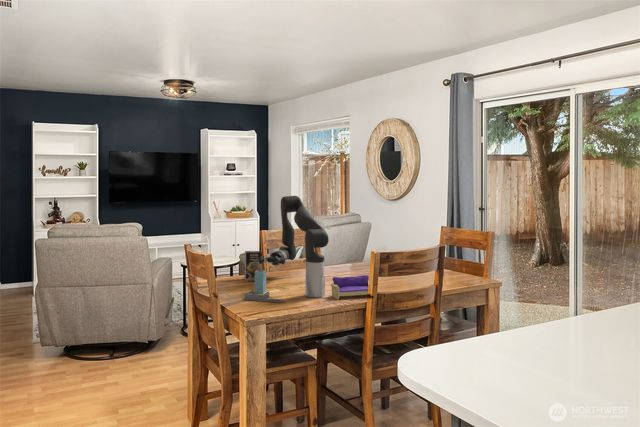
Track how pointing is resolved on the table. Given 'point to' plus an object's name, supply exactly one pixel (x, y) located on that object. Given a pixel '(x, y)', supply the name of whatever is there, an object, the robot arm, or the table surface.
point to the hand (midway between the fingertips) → (268, 262)
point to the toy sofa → (350, 286)
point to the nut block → (260, 281)
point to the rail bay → (260, 297)
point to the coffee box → (252, 264)
